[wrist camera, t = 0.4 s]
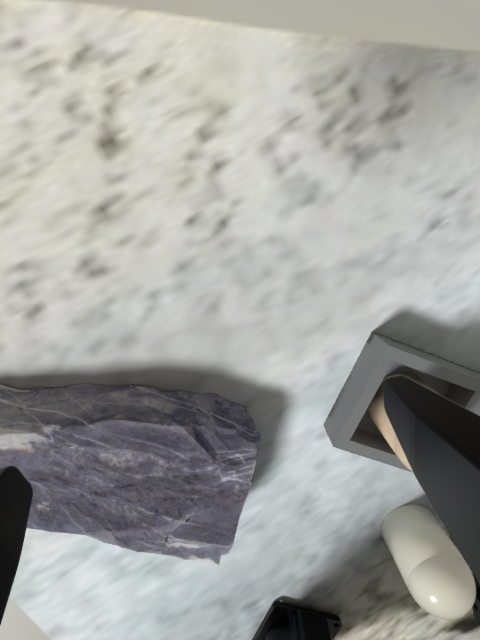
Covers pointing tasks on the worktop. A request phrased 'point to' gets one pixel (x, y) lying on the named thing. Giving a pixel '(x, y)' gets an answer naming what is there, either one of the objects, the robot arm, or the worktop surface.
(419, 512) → the egg
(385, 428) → the seated egg
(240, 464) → the rock
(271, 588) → the worktop surface
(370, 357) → the carton
